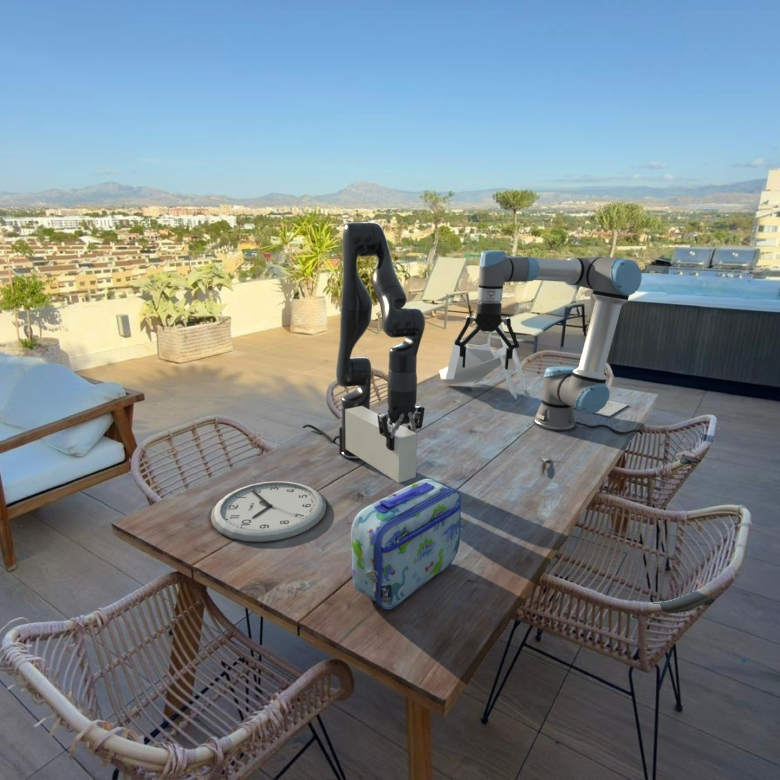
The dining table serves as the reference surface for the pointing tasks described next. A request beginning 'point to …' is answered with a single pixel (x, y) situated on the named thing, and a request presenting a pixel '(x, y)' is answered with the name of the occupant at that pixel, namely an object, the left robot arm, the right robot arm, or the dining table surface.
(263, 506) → the wall clock
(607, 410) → the invitation card
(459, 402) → the dining table surface
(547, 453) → the fork
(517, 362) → the white plastic object
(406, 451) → the box
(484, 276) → the right robot arm
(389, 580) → the lunch box
